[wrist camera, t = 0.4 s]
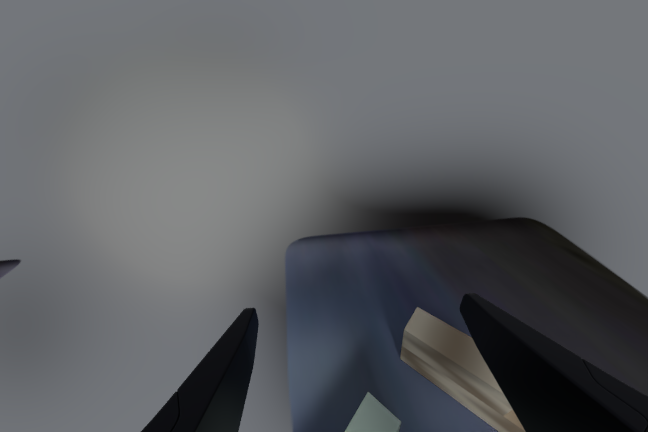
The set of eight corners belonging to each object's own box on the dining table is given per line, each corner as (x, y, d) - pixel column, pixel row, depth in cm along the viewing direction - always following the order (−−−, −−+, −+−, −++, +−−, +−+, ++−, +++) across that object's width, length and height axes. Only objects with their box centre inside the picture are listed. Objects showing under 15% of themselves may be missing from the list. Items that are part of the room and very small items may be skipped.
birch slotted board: (728, 547, 13) (872, 565, 9) (741, 611, 11) (916, 662, 8) (411, 338, 23) (417, 306, 20) (400, 358, 22) (404, 329, 18)
